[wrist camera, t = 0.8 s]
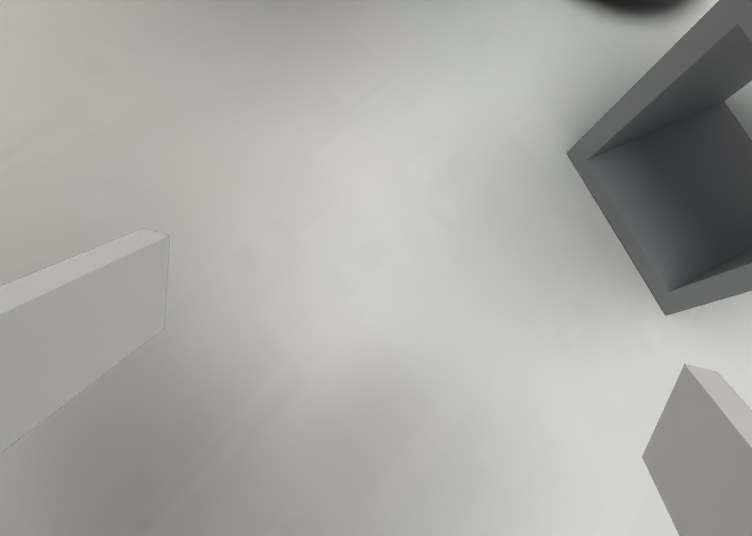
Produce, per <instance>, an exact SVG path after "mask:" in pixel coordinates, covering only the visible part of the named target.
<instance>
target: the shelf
mask: <svg viewBox="0 0 752 536" xmlns="http://www.w3.org/2000/svg"><path fill="white" fill-rule="evenodd" d="M751 80H752V0H719V1H718V2H717V3H716V4H715V5H714V6H713V7H712V8H711V9H710V10H709V11H708V12H707V13H706V14H705V15H704V16H703V17H702V18H701V19H700V20H699V21H698V22H697V23H696V24H695V25H694V26H693V27H692V28H691V29H690V30H689V31H688V32H687V33H686V34H685V35H684V36H683V37H682V38H681V39H680V40H679V41H678V42H677V43H676V44H675V45H674V46H673V47H672V48H671V49H670V50H669V51H668V52H667V53H666V54H665V55H664V56H663V57H662V58H661V59H660V60H659V61H658V62H657V63H656V64H655V65H654V66H653V67H652V68H651V69H650V70H649V71H648V72H647V73H646V74H645V75H644V76H643V77H642V78H641V79H640V80H639V81H638V82H637V83H636V84H635V85H634V86H633V87H632V88H631V89H630V90H629V91H628V92H627V93H626V94H625V95H624V96H623V97H622V98H621V99H620V100H619V101H618V102H617V103H616V104H615V105H614V106H613V107H612V108H611V109H610V110H609V111H608V112H607V113H606V114H605V115H604V116H603V117H602V118H601V119H600V120H599V121H598V122H597V123H596V124H595V125H594V126H593V127H592V128H591V129H590V130H589V131H588V132H587V133H586V134H585V135H584V136H583V137H582V138H581V139H580V140H579V141H578V142H577V143H576V144H575V145H574V146H573V147H572V148H571V149H570V150H569V151H568V152H567V154H568V156H569V158H570V159H571V161H572V163H573V164H574V166H575V168H576V169H577V171H578V172H579V174H580V176H581V177H582V179H583V181H584V182H585V184H586V186H587V187H588V189H589V191H590V192H591V194H592V195H593V197H594V199H595V200H596V202H597V204H598V205H599V207H600V209H601V210H602V212H603V213H604V215H605V217H606V218H607V220H608V222H609V223H610V225H611V227H612V228H613V230H614V231H615V233H616V235H617V236H618V238H619V240H620V241H621V243H622V245H623V246H624V248H625V249H626V251H627V253H628V254H629V256H630V258H631V259H632V261H633V263H634V264H635V266H636V267H637V269H638V271H639V272H640V274H641V276H642V277H643V279H644V281H645V282H646V284H647V286H648V287H649V289H650V290H651V292H652V294H653V295H654V297H655V299H656V300H657V302H658V304H659V305H660V307H661V308H662V310H663V312H664V313H665V315H669V314H672V313H676V312H679V311H683V310H686V309H690V308H693V307H697V306H700V305H703V304H707V303H710V302H714V301H717V300H721V299H724V298H728V297H731V296H734V295H738V294H741V293H745V292H748V291H752V141H751V139H750V138H749V137H748V135H747V134H746V132H745V131H744V129H743V128H742V126H741V125H740V124H739V122H738V121H737V119H736V118H735V116H734V115H733V114H732V112H731V111H730V109H729V108H728V106H727V105H726V103H725V102H724V101H725V100H726V99H727V98H729V97H730V96H731V95H733V94H734V93H735V92H737V91H738V90H739V89H741V88H742V87H743V86H745V85H746V84H747V83H749V82H750V81H751Z"/></svg>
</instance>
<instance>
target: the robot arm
mask: <svg viewBox="0 0 752 536" xmlns="http://www.w3.org/2000/svg"><path fill="white" fill-rule="evenodd" d="M169 244H170V235H168V234H164V233H160V232H156V231H152V230H148V229H144V228H142V229H140V230H137V231H135V232H132V233H130V234H128V235H125V236H123V237H120V238H118V239H115V240H113V241H110V242H108V243H105V244H103V245H101V246H98V247H96V248H93V249H91V250H88V251H86V252H83V253H81V254H78V255H76V256H74V257H71V258H69V259H66V260H64V261H61V262H59V263H56V264H54V265H51V266H49V267H47V268H44V269H42V270H39V271H37V272H34V273H32V274H29V275H27V276H24V277H22V278H20V279H17V280H15V281H12V282H10V283H7V284H5V285H2V286H0V453H1V452H2V451H4V450H5V449H6V448H8V447H9V446H10V445H12V444H13V443H14V442H16V441H17V440H18V439H19V438H21V437H22V436H23V435H25V434H26V433H27V432H29V431H30V430H31V429H33V428H34V427H35V426H37V425H38V424H39V423H40V422H42V421H43V420H44V419H46V418H47V417H48V416H50V415H51V414H52V413H54V412H55V411H56V410H58V409H59V408H60V407H61V406H63V405H64V404H65V403H67V402H68V401H69V400H71V399H72V398H73V397H75V396H76V395H77V394H78V393H80V392H81V391H82V390H84V389H85V388H86V387H88V386H89V385H90V384H92V383H93V382H94V381H96V380H97V379H98V378H99V377H101V376H102V375H103V374H105V373H106V372H107V371H109V370H110V369H111V368H113V367H114V366H115V365H117V364H118V363H119V362H120V361H122V360H123V359H124V358H126V357H127V356H128V355H130V354H131V353H132V352H134V351H135V350H136V349H138V348H139V347H140V346H141V345H143V344H144V343H145V342H147V341H148V340H149V339H151V338H152V337H153V336H155V335H156V334H157V333H158V332H160V331H161V330H162V329H164V321H165V306H166V290H167V275H168V260H169ZM642 458H643V460H644V462H645V464H646V466H647V468H648V470H649V473H650V475H651V477H652V479H653V481H654V483H655V485H656V487H657V489H658V492H659V494H660V496H661V498H662V500H663V502H664V504H665V506H666V508H667V510H668V513H669V515H670V517H671V519H672V521H673V523H674V525H675V527H676V529H677V531H678V534H679V536H752V410H751V409H750V408H749V407H748V405H747V404H746V403H745V402H744V401H743V400H742V399H741V398H740V397H739V395H738V394H737V393H736V392H735V391H734V390H733V389H732V388H731V386H730V385H729V384H728V383H727V382H726V381H725V380H724V379H723V378H722V376H721V375H720V374H719V373H718V372H715V371H711V370H707V369H703V368H699V367H695V366H691V365H687V364H684V366H683V369H682V371H681V373H680V375H679V377H678V380H677V382H676V384H675V386H674V388H673V390H672V393H671V395H670V397H669V399H668V401H667V404H666V406H665V408H664V410H663V412H662V414H661V417H660V419H659V421H658V423H657V425H656V427H655V430H654V432H653V434H652V436H651V438H650V441H649V443H648V445H647V447H646V449H645V451H644V454H643V456H642Z"/></svg>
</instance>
